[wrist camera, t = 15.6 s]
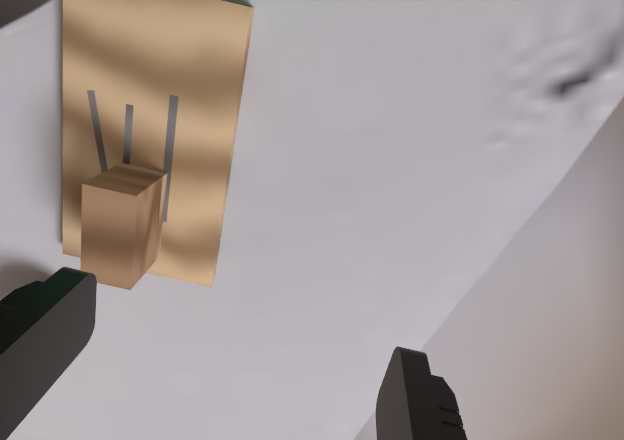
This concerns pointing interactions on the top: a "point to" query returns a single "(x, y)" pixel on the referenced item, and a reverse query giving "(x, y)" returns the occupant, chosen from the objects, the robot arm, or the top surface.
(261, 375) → the top surface
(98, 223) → the block
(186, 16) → the board
